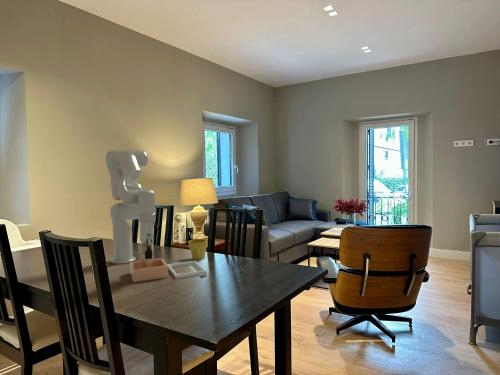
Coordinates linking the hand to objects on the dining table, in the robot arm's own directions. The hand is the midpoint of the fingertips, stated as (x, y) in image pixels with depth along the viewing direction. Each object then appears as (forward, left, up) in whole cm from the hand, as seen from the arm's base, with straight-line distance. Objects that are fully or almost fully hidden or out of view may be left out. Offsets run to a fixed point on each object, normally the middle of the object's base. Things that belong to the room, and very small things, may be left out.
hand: (147, 256), depth 158 cm
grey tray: (+1, +17, -9) cm, 19 cm away
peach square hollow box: (0, 0, -9) cm, 9 cm away
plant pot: (-23, +30, -10) cm, 38 cm away
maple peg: (0, 0, -5) cm, 5 cm away
